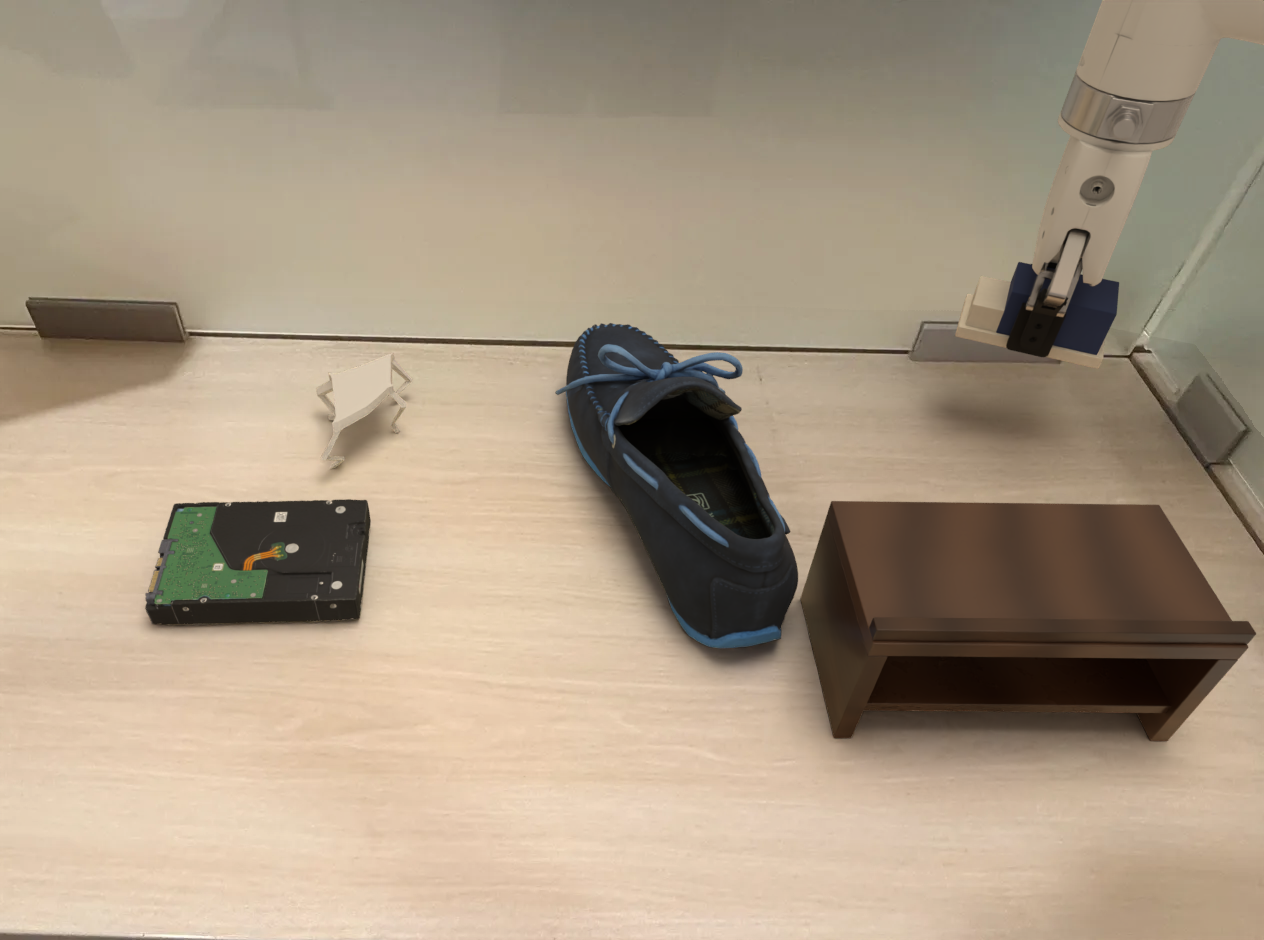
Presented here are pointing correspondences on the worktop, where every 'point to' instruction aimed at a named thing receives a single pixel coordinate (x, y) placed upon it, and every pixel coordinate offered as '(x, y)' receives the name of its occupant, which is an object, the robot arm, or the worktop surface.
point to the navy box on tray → (1001, 301)
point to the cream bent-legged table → (360, 395)
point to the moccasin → (684, 482)
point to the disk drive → (261, 562)
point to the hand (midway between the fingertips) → (1030, 329)
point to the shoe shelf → (1013, 612)
